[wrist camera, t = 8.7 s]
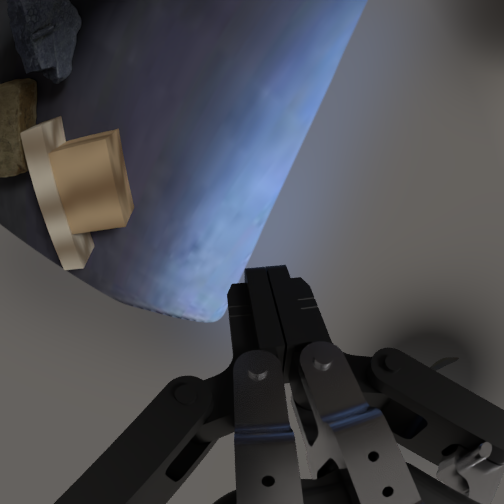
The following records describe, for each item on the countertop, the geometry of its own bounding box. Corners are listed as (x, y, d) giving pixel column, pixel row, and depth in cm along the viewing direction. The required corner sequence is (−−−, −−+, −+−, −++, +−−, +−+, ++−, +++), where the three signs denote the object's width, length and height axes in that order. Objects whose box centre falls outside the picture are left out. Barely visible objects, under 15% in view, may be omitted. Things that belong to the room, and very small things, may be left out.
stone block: (9, 166, 28) (-11, 181, 24) (5, 82, 22) (-19, 88, 18) (42, 163, 29) (23, 178, 25) (39, 74, 23) (17, 77, 19)
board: (41, 122, 26) (20, 133, 22) (61, 116, 27) (41, 125, 23) (76, 248, 37) (64, 270, 33) (94, 245, 37) (83, 268, 33)
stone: (105, 59, 24) (66, 60, 16) (61, 87, 25) (14, 100, 17) (70, -28, 16) (29, -49, 8) (29, 1, 17) (-19, -7, 9)
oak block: (66, 141, 29) (48, 153, 25) (119, 128, 29) (105, 139, 25) (85, 214, 35) (72, 234, 30) (134, 206, 35) (125, 226, 31)
